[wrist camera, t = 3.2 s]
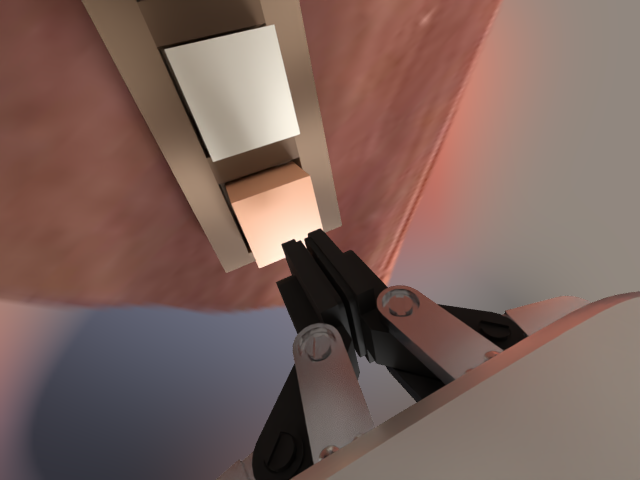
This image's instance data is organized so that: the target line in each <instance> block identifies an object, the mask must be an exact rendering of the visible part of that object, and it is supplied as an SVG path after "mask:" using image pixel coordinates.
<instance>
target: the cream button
mask: <svg viewBox="0 0 640 480" xmlns="http://www.w3.org/2000/svg"><path fill="white" fill-rule="evenodd" d="M164 50H165V53H166V55H167V57H168V59H169V62H170V64H171V66H172V69H173V71H174V73H175V76H176V78H177V80H178V82H179V85H180V87H181V89H182V92H183V94H184V96H185V98H186V101H187V103H188V105H189V108H190V110H191V112H192V115H193V117H194V119H195V121H196V124H197V126H198V128H199V131H200V133H201V135H202V138H203V140H204V142H205V144H206V147H207V149H208V151H209V154H210V156H211V158H212V161H213V162H215V161H218V160H221V159H224V158H227V157H230V156H234V155H237V154H240V153H243V152H246V151H249V150H252V149H255V148H258V147H262V146H265V145H268V144H271V143H274V142H277V141H280V140H283V139H287V138H290V137H293V136H296V135H299V134H300V131H299V126H298V122H297V118H296V114H295V110H294V106H293V101H292V97H291V93H290V89H289V85H288V80H287V76H286V72H285V68H284V64H283V59H282V55H281V51H280V47H279V43H278V38H277V34H276V30H275V26H274V25H270V26H265V27H261V28H257V29H252V30H248V31H243V32H239V33H235V34H230V35H226V36H221V37H217V38H212V39H208V40H204V41H199V42H195V43H190V44H186V45H181V46H177V47H173V48H168V49H164Z"/></svg>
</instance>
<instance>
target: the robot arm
mask: <svg viewBox="0 0 640 480" xmlns="http://www.w3.org/2000/svg"><path fill="white" fill-rule="evenodd" d="M304 241H305V245H306V247H305V246H304V244H303V243H302V241H301V240H299V241H297V242H296V240H295V239H292V240H290V241H287V242H285V243H282V244H281V245H282V249H283V251H284V254H285V257H286V260H287V263H288V266H289V268H290V271H291V274H292V275H291V276H289V277H287V278H285V279H282V280H280V281H278V282H276V283H277V286H278V288H279V291H280V293H281V296H282V298H283V301H284V303H285V305H286V308H287V310H288V313H289V315H290V317H291V320H292V322H293V324H294V327H295V329H296V331H297V334H298V335H297V337H296V338H295V340H294V343H293V355H294V360H295V364H294V366H293V368H292V370H291V372H290V374H289V376H288V378H287V381H286V382H285V385H284V387H283V389H282V391H281V393H280V395H279V397H278V399H277V401H276V403H275V405H274V408H273V410H272V412H271V414H270V416H269V418H268V420H267V422H266V424H265V426H264V428H263V430H262V432H261V435H260V436H259V439H258V441H257V443H256V446H255V449H254V451H253V452H252V453H251V454H250V455H249V456H248V457H246V458H245V459H244V460H243V461H241V460H238V461H237V462H236V463H235V464H233V465H232V466H231V467H230V468H229V469H228V470H226V471H225V472H224V473H223V474H222V475H221V476H220V477H218V478H217V479H216V480H640V291H637V292H629V293H623V294H618V295H614V296H610V297H606V298H603V299H600V300H597V301H595V302H592V303H591V302H589V301H588V300H585V299H582V298H579V297H574V296H559V297H555V298H551V299H548V300H544V301H540V302H537V303H532V304H529V305H525V306H522V307H517V308H514V309H510V310H506V311H505V313H504V315H501V314H497V313H493V312H487V311H480V310H473V309H467V308H459V307H453V306H446V305H439V304H436V303H434V302H433V301H432V300H430V299H429V298H427V297H426V296H424V295H423V294H422V293H420V292H419V291H417V290H415V289H413V288H411V287H408V286H392V287H389V288H388V287H387V286H386V285H385V284H384V283H383V282H382V281H381V280H380V279H379V278H378V277H377V276H376V275H375V274H374V273H373V272H372V270H371V269H370V268H369V267H368V266H367V265H366V264H365V263H364V262H363V261H362V260H361V259H360V258H359V257H358V256H357V255H356V254H355V253H354V252H353V251H352V250H349V251H347V252H345V253H342V252H341V250H340V249H339V248H338V247H337V246H336V245H335V244H334V243H333V241H332V240H331V239H330V238H329V237H328V236H327V235H326V233H325V232H324V231H323V230H322V229H321V228H319V229H317V230H314V231H312V232H310V233H308V237H307V238H304ZM355 350H356V352H357V354H358V355H359V356H360V357H362V356H364V355H365V357H366V358H367V360H368V361H369V363H371V362H373V361H375V362H376V363H377V364H381V365H385V366H386V368H387V370H388V371H389V373H390V374H391V375H392V376H393V377H394V378H395V379H396V380H397V381H398V383H399V384H400V385H401V386H402V387H403V388H404V389H405V390H406V391H407V392H408V393H409V394H410V396H411V397H412V398H413V399H414V400H415V401H416V402H417V403H416V404H414V405H412V406H410V407H409V408H407V409H405V410H404V411H402V412H400V413H399V414H397V415H395V416H394V417H392V418H390V419H389V420H387V421H385V422H384V423H382V424H380V425H379V426H377V427H376V428H375V426H374V423H373V420H372V417H371V415H370V412H369V410H368V407H367V404H366V402H365V399H364V396H363V394H362V391H361V388H360V386H359V383H358V377H359V373H360V371H359V367H358V362H357V358H356V354H355Z"/></svg>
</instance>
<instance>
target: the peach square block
mask: <svg viewBox="0 0 640 480" xmlns="http://www.w3.org/2000/svg"><path fill="white" fill-rule="evenodd" d="M225 187H226V190H227V193H228V196H229V199H230V202H231V204H232V207H233V209H234V211H235V214H236V216H237V218H238V220H239V223H240V225H241V227H242V230H243V232H244V234H245V236H246V239H247V241H248V243H249V246H250V248H251V250H252V253H253V255H254V257H255V259H256V262H257V264H258V266H259V268H261V267H264V266H266V265H269V264H271V263H273V262H276V261H278V260H281V259H283V258H285V254H284V251H283V249H282V245H281V244H282V243H285V242H287V241H290V240H292V239H295V240H296V242H297V241H299V240H301V241H302V243H303V244H304V246H305V247H306V245H305V241H304V238H307V237H308V233H310V232H312V231H314V230H317V229H319V228H321V229H322V230H323V227H322V223H321V219H320V215H319V210H318V206H317V202H316V198H315V194H314V189H313V185H312V181H311V177H310V175H309V174H308V173H306V172H305V171H304V170H303V169H301V168H300V167H299V166H298V165H296V164H295V163H294V162H293V161H291V162H288V163H285V164H282V165H279V166H276V167H273V168H270V169H267V170H264V171H261V172H258V173H255V174H253V175H250V176H247V177H244V178H241V179H238V180H235V181H232V182H229V183H226V184H225Z"/></svg>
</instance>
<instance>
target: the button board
mask: <svg viewBox="0 0 640 480" xmlns="http://www.w3.org/2000/svg"><path fill="white" fill-rule="evenodd" d="M82 2H83V4H84V6H85V8H86V10H87V12H88V14H89V16H90V17H91V19H92V21H93V23H94V25H95V27H96V29H97V31H98V32H99V34H100V36H101V38H102V40H103V42H104V44H105V46H106V48H107V49H108V51H109V53H110V55H111V57H112V59H113V61H114V63H115V64H116V66H117V68H118V70H119V72H120V74H121V76H122V78H123V80H124V81H125V83H126V85H127V87H128V89H129V91H130V93H131V95H132V96H133V98H134V100H135V102H136V104H137V106H138V108H139V110H140V112H141V113H142V115H143V117H144V119H145V121H146V123H147V125H148V127H149V128H150V130H151V132H152V134H153V136H154V138H155V140H156V142H157V144H158V145H159V147H160V149H161V151H162V153H163V155H164V157H165V159H166V160H167V162H168V164H169V166H170V168H171V170H172V172H173V174H174V176H175V177H176V179H177V181H178V183H179V185H180V187H181V189H182V191H183V192H184V194H185V196H186V198H187V200H188V202H189V204H190V206H191V208H192V209H193V211H194V213H195V215H196V217H197V219H198V221H199V223H200V225H201V226H202V228H203V230H204V232H205V234H206V236H207V238H208V240H209V241H210V243H211V245H212V247H213V249H214V251H215V253H216V255H217V257H218V258H219V260H220V262H221V264H222V266H223V268H224V270H225V272H226V273H227V272H230V271H232V270H234V269H237V268H239V267H242V266H244V265H247V264H249V263H252V262H254V261H256V259H255V257H254V255H253V253H252V250H251V248H250V246H249V243H248V241H247V239H246V236H245V234H244V232H243V230H242V227H241V225H240V223H239V220H238V218H237V216H236V214H235V211H234V209H233V207H232V204H231V202H230V199H229V196H228V193H227V190H226V187H225V184H226V183H229V182H232V181H235V180H238V179H241V178H244V177H247V176H250V175H253V174H255V173H258V172H261V171H264V170H267V169H270V168H273V167H276V166H279V165H282V164H285V163H288V162H291V161H293V162H294V163H295V164H296V165H298V166H299V167H300V168H301V169H303V170H304V171H305V172H306V173H308V174H309V175H310V177H311V181H312V185H313V189H314V194H315V198H316V202H317V206H318V210H319V215H320V219H321V223H322V227H323V231H324V232H327V231H330V230H332V229H335V228H337V227H340V226H342V223H341V218H340V213H339V208H338V202H337V197H336V192H335V187H334V182H333V176H332V171H331V166H330V161H329V155H328V150H327V145H326V140H325V134H324V129H323V124H322V119H321V113H320V108H319V103H318V98H317V92H316V87H315V82H314V77H313V72H312V66H311V61H310V56H309V51H308V45H307V40H306V35H305V30H304V24H303V19H302V14H301V9H300V3H299V0H82ZM270 25H274V26H275V30H276V34H277V38H278V43H279V47H280V51H281V55H282V59H283V64H284V68H285V72H286V76H287V80H288V85H289V89H290V93H291V97H292V101H293V106H294V110H295V114H296V118H297V122H298V126H299V131H300V134H299V135H296V136H293V137H290V138H287V139H283V140H280V141H277V142H274V143H271V144H268V145H265V146H262V147H258V148H255V149H252V150H249V151H246V152H243V153H240V154H237V155H234V156H230V157H227V158H224V159H221V160H218V161H215V162H213V161H212V158H211V156H210V154H209V151H208V149H207V147H206V144H205V142H204V140H203V138H202V135H201V133H200V131H199V128H198V126H197V124H196V121H195V119H194V117H193V115H192V112H191V110H190V108H189V105H188V103H187V101H186V98H185V96H184V94H183V92H182V89H181V87H180V85H179V82H178V80H177V78H176V76H175V73H174V71H173V69H172V66H171V64H170V62H169V59H168V57H167V55H166V53H165V50H164V49H168V48H173V47H177V46H181V45H186V44H190V43H195V42H199V41H204V40H208V39H212V38H217V37H221V36H226V35H230V34H235V33H239V32H243V31H248V30H252V29H257V28H261V27H265V26H270Z"/></svg>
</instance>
